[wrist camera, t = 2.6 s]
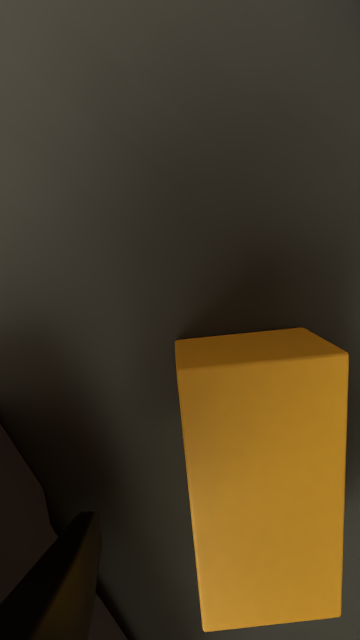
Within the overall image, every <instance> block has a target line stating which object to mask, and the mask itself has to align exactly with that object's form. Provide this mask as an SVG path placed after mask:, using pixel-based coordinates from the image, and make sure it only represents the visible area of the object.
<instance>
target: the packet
mask: <svg viewBox="0 0 360 640" xmlns="http://www.w3.org/2000/svg"><path fill="white" fill-rule="evenodd" d="M175 356H176V372H177V382H178V392H179V402H180V412H181V422H182V432H183V441H184V451H185V461H186V471H187V481H188V491H189V500H190V510H191V520H192V530H193V540H194V550H195V560H196V569H197V579H198V589H199V599H200V609H201V619H202V628H203V630H204V632H210V631H219V630H228V629H237V628H246V627H254V626H263V625H272V624H281V623H290V622H299V621H308V620H317V619H326V618H334V617H340V616H341V601H342V569H343V536H344V504H345V471H346V439H347V406H348V374H349V354H348V352H346V351H344V350H342V349H340V348H339V347H337V346H335V345H333V344H332V343H330V342H328V341H326V340H324V339H323V338H321V337H319V336H317V335H316V334H314V333H312V332H310V331H308V330H307V329H305V328H292V329H282V330H272V331H261V332H251V333H241V334H231V335H221V336H211V337H201V338H191V339H181V340H176V341H175Z"/></svg>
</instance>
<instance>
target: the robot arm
mask: <svg viewBox="0 0 360 640" xmlns="http://www.w3.org/2000/svg"><path fill="white" fill-rule="evenodd" d="M101 545H102V536H101V530H100V525H99V519H98V514H97V512H96V511H94V510H92V511H83V512H80V513H79V514H78V515H77V516H76V517H75V518H74V520H73V521H72V522H71V523H70V524H69V525H68V526H67V528H66V529H65V530H64V531H63V532H62V533H61V535H60V536H59V537H58V538H57V539H56V540H55V541H54V543H53V544H52V545H51V546H50V547H49V548H48V550H47V551H46V552H45V553H44V554H43V555H42V557H41V558H40V559H39V560H38V561H37V562H36V563H35V565H34V566H33V567H32V568H31V569H30V570H29V572H28V573H27V574H26V575H25V576H24V577H23V578H22V580H21V581H20V582H19V583H18V584H17V585H16V587H15V588H14V589H13V590H12V591H11V592H10V593H9V595H8V596H7V597H6V598H5V599H4V600H3V602H2V603H1V604H0V640H87V639H88V634H89V630H90V625H91V620H92V613H93V606H94V598H95V591H96V583H97V576H98V568H99V561H100V553H101Z"/></svg>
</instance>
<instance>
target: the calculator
mask: <svg viewBox="0 0 360 640" xmlns="http://www.w3.org/2000/svg"><path fill="white" fill-rule="evenodd" d="M57 538H58V536H57V534H56V533H55V531H54V530H53V528H52V527H51V524H50V520H49V515H48V510H47V505H46V500H45V495H44V491H43V488H42V487H41V485H40V484H39V482H38V481H37V479H36V478H35V476H34V474H33V473H32V471H31V470H30V468H29V467H28V465H27V464H26V462H25V461H24V459H23V458H22V456H21V455H20V453H19V452H18V450H17V449H16V447H15V446H14V444H13V442H12V441H11V439H10V438H9V436H8V435H7V433H6V432H5V430H4V429H3V427H2V426H1V424H0V604H1V603H2V602H3V600H4V599H5V598H6V597H7V596H8V595H9V593H10V592H11V591H12V590H13V589H14V588H15V587H16V585H17V584H18V583H19V582H20V581H21V580H22V578H23V577H24V576H25V575H26V574H27V573H28V572H29V570H30V569H31V568H32V567H33V566H34V565H35V563H36V562H37V561H38V560H39V559H40V558H41V557H42V555H43V554H44V553H45V552H46V551H47V550H48V548H49V547H50V546H51V545H52V544H53V543H54V541H55V540H56V539H57ZM87 640H128V639H127V638H126V636H125V635H124V633H123V632H122V630H121V629H120V628H119V626H118V625H117V623H116V622H115V620H114V619H113V617H112V616H111V614H110V613H109V611H108V610H107V608H106V607H105V605H104V604H103V602H102V601H101V599H100V598H99V597H98V595H97V594H96V592H95V598H94V606H93V613H92V620H91V625H90V630H89V634H88V639H87Z"/></svg>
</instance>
